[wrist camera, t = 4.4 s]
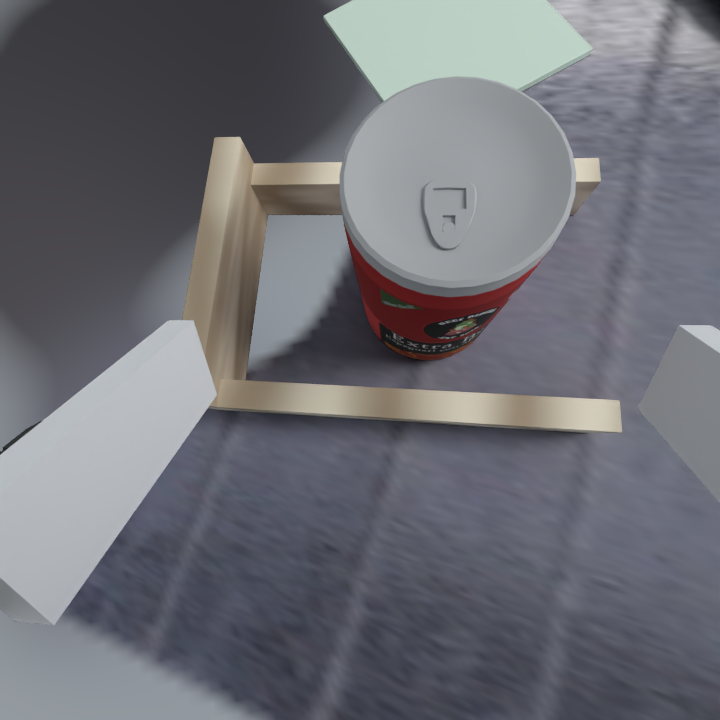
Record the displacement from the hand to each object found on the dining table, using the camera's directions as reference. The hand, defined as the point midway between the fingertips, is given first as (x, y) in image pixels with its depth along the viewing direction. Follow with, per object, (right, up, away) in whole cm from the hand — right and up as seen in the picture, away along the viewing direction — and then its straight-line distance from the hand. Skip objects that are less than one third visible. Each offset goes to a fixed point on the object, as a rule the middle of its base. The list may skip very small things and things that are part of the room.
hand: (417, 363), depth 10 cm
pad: (+5, +24, +16) cm, 29 cm away
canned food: (+2, +4, +12) cm, 13 cm away
